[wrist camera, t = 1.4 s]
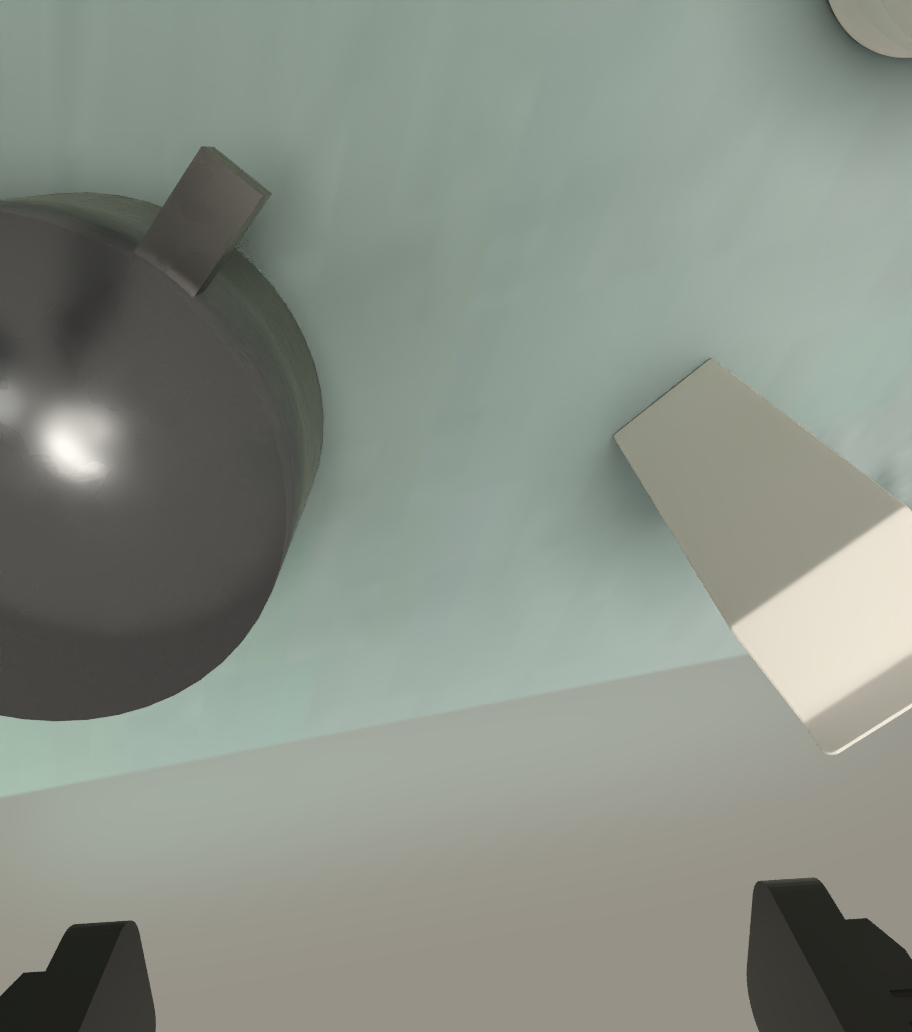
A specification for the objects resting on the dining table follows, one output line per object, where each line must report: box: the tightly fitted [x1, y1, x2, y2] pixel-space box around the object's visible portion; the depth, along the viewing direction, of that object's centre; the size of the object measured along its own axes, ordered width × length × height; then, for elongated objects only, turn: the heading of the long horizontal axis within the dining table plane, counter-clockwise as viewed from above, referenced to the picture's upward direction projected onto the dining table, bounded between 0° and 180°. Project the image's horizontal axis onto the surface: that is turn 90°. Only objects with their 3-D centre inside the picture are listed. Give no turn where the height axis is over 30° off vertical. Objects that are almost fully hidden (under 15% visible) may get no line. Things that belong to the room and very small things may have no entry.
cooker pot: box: [0, 147, 323, 721], centre depth 37 cm, size 21×28×11 cm
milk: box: [614, 359, 912, 755], centre depth 33 cm, size 6×6×22 cm
